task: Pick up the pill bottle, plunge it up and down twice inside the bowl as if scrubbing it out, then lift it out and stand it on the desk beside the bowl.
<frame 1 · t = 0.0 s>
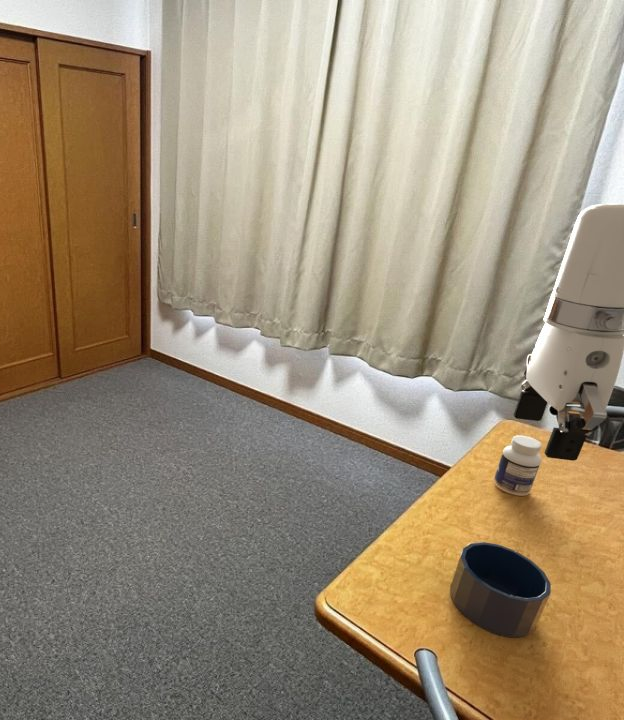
hand: (542, 437, 63), 21 cm above the table, tool pointing down, fingers open, 9 cm apart
bowl: (490, 605, 64), on the table
pill bottle: (510, 487, 86), on the table
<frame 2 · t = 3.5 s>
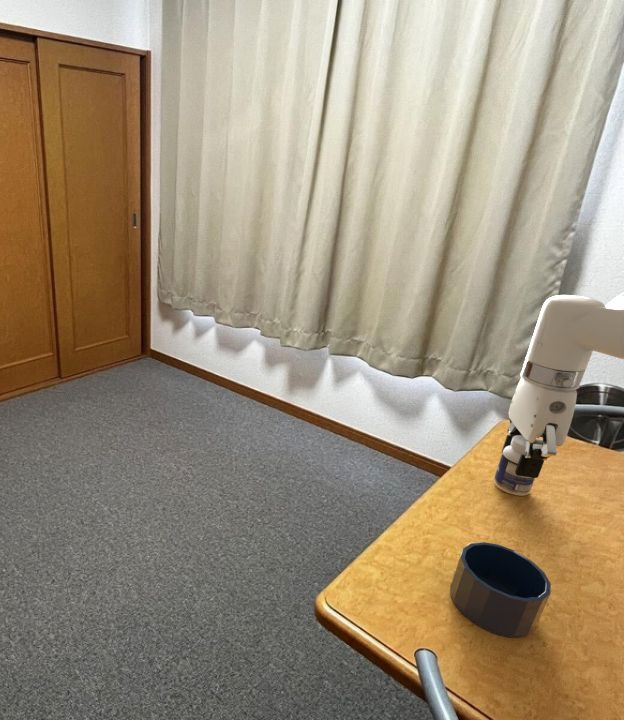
hand: (518, 464, 84), 5 cm above the table, tool pointing down, fingers closed on pill bottle, 5 cm apart
pill bottle: (510, 487, 86), on the table, touching gripper
everything else where it was.
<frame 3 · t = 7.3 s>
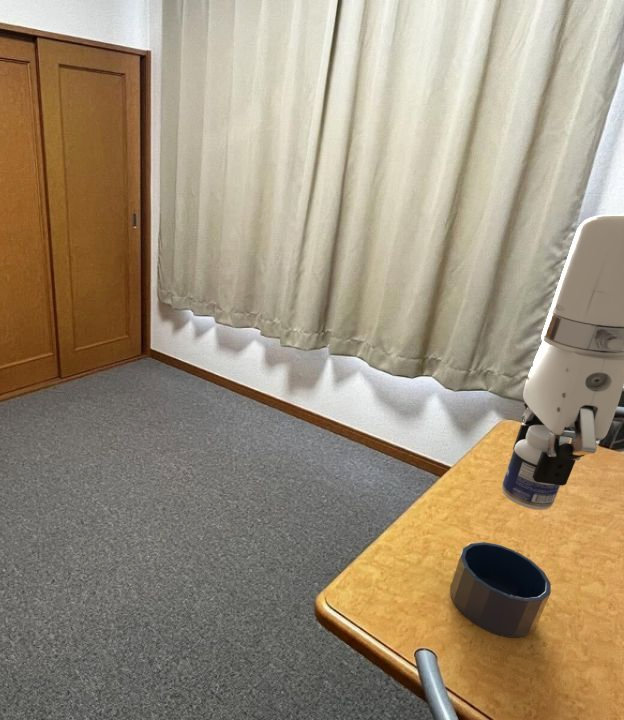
hand: (537, 466, 60), 20 cm above the table, tool pointing down, fingers closed on pill bottle, 5 cm apart
pill bottle: (525, 498, 62), point 14 cm above the table, touching gripper
everything else where it was.
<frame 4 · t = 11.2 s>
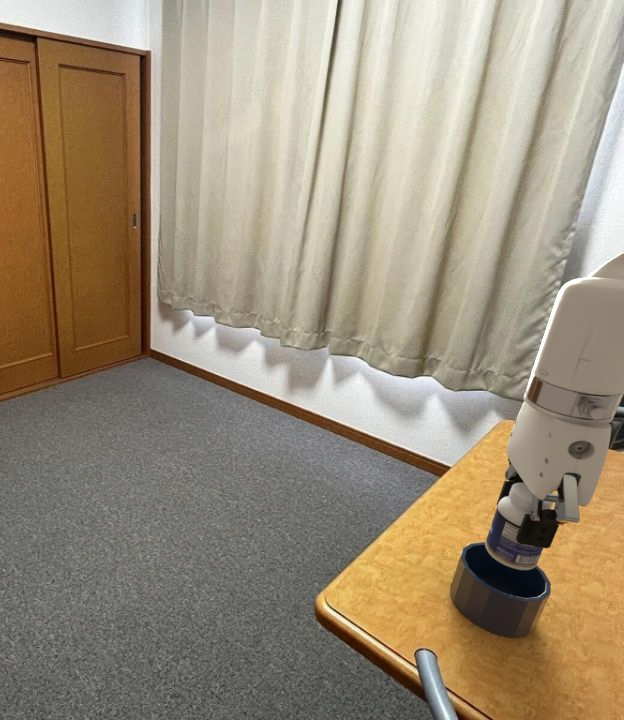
hand: (521, 524, 58), 14 cm above the table, tool pointing down, fingers closed on pill bottle, 5 cm apart
pill bottle: (509, 555, 60), point 9 cm above the table, touching gripper
everything else where it was.
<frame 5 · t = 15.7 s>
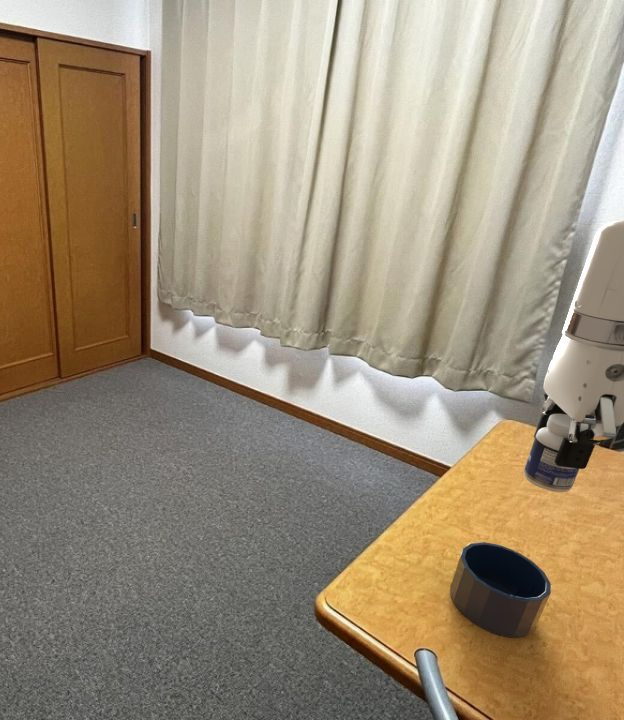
hand: (558, 451, 64), 18 cm above the table, tool pointing down, fingers closed on pill bottle, 5 cm apart
pill bottle: (545, 482, 66), point 13 cm above the table, touching gripper
everything else where it was.
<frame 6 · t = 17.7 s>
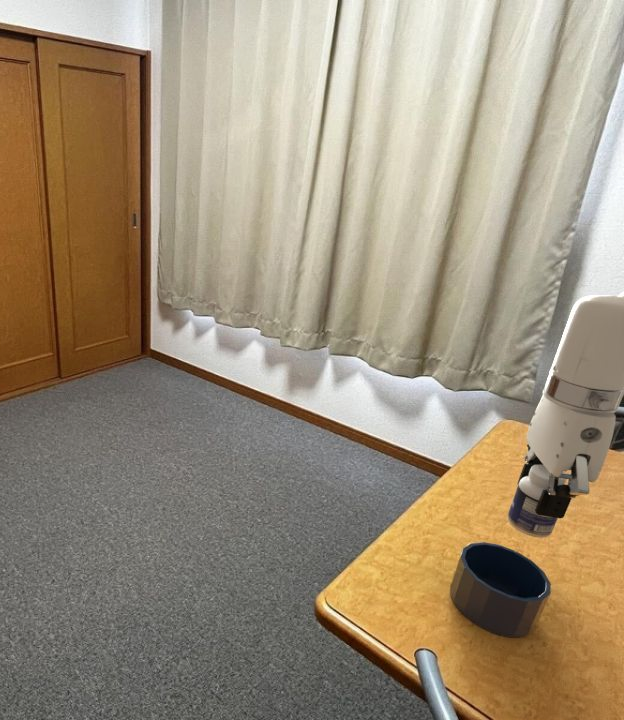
hand: (539, 500, 69), 9 cm above the table, tool pointing down, fingers closed on pill bottle, 5 cm apart
pill bottle: (527, 526, 71), point 4 cm above the table, touching gripper
everything else where it was.
when the fingers open (5 cm above the table, at t = 19.2 s): pill bottle stays where it is, on the table.
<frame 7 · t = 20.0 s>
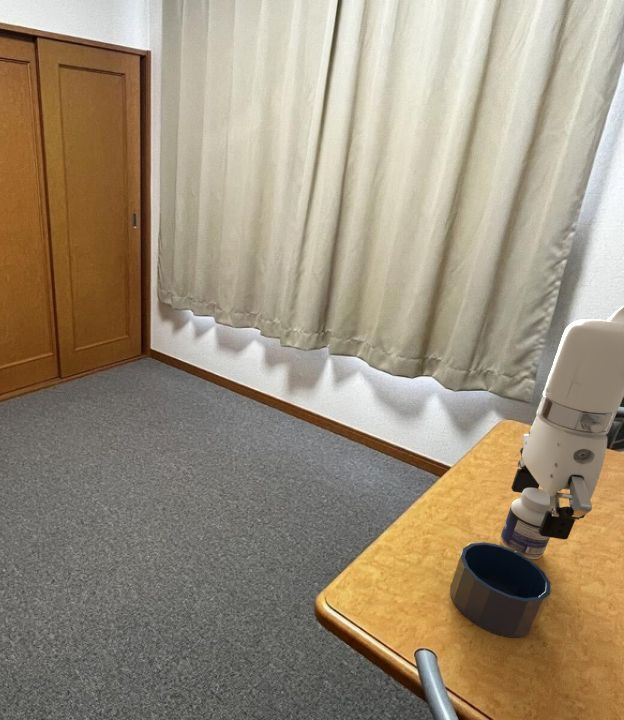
hand: (536, 512, 70), 7 cm above the table, tool pointing down, fingers open, 9 cm apart
pill bottle: (520, 547, 73), on the table
everything else where it was.
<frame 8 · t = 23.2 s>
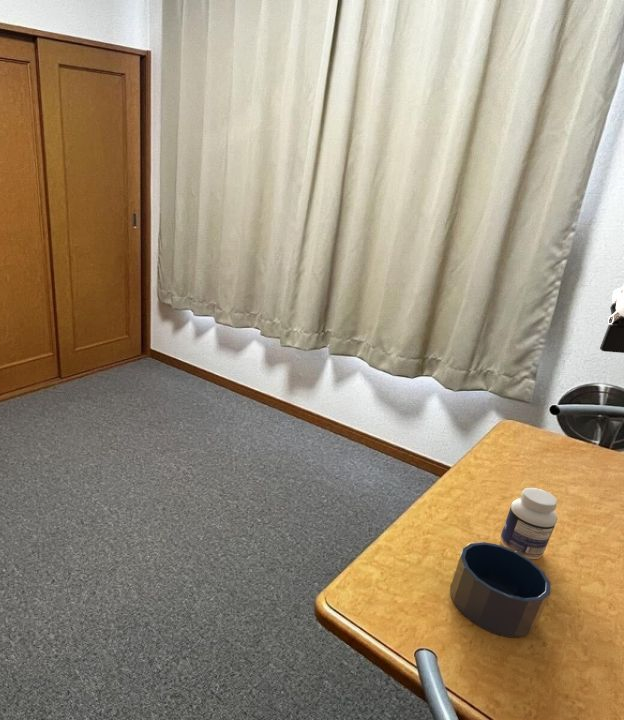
nothing on the table moved.
at the end: pill bottle inside the target area (0.1 cm from its centre), on the table; pill bottle tilted 0°; bowl moved 0.0 cm from its start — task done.
